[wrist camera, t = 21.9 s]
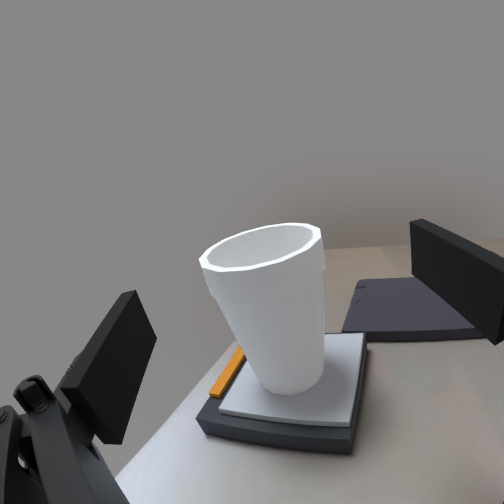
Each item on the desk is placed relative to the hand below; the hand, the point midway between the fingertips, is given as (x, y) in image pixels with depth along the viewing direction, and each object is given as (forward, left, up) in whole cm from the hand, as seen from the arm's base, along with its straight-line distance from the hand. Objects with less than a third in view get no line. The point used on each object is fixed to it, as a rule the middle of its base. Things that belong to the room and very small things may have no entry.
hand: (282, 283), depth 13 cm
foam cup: (-5, +9, -14) cm, 17 cm away
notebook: (+10, +23, -18) cm, 30 cm away
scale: (-5, +9, -17) cm, 20 cm away
